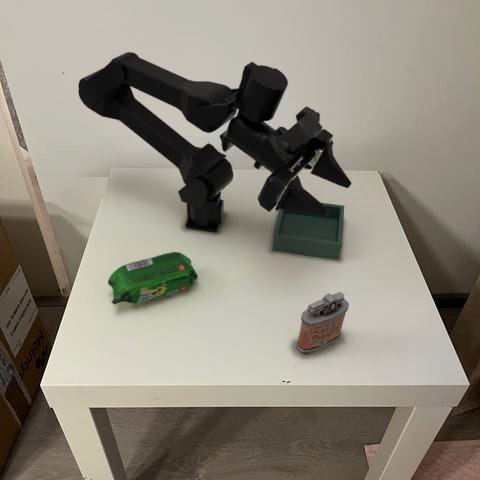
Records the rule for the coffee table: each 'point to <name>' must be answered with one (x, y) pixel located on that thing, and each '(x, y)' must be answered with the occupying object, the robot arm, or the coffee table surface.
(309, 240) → the shallow open tray
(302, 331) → the lighter
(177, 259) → the snack package
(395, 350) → the coffee table surface
